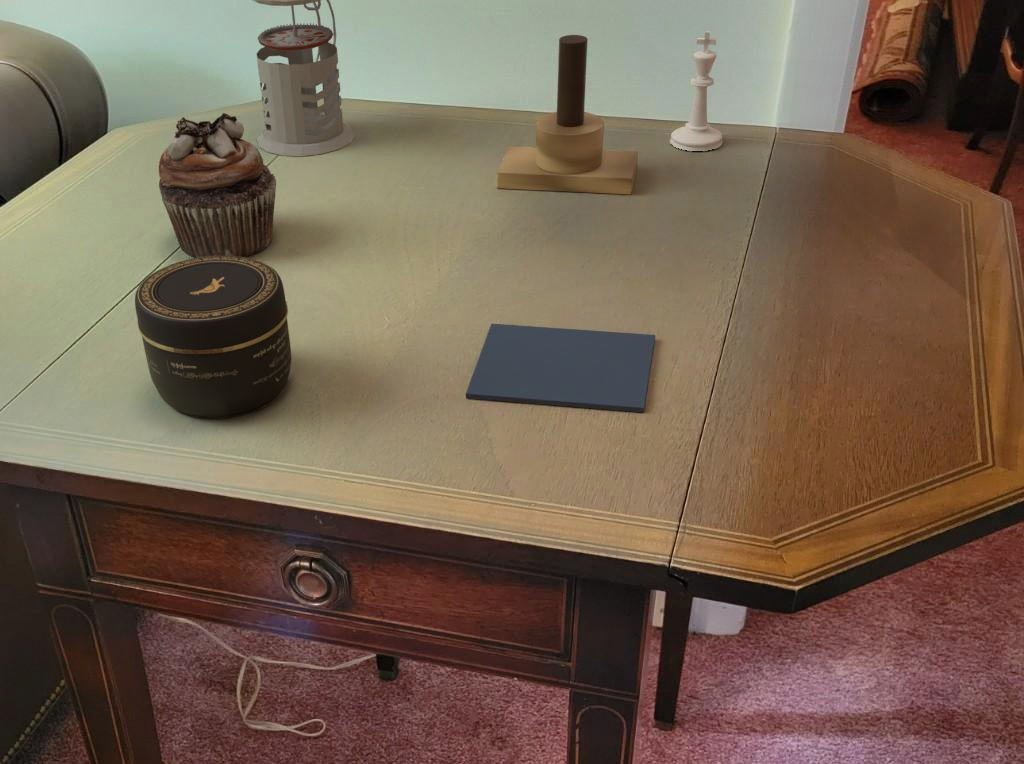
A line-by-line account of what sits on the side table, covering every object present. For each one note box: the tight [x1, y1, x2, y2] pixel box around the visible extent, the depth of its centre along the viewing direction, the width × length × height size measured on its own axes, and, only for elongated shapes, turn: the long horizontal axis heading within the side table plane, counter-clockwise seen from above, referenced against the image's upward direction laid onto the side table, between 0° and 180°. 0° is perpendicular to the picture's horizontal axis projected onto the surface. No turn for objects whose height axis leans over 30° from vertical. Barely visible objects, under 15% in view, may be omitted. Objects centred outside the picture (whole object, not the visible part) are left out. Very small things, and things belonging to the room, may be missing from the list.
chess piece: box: [669, 30, 723, 152], centre depth 113 cm, size 5×5×10 cm
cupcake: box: [158, 112, 277, 258], centre depth 100 cm, size 10×10×10 cm
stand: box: [496, 34, 639, 195], centre depth 107 cm, size 12×6×12 cm, turn 78°
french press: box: [252, 0, 356, 157], centre depth 114 cm, size 10×12×25 cm
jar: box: [134, 256, 292, 419], centre depth 83 cm, size 10×10×8 cm
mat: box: [465, 323, 656, 413], centre depth 85 cm, size 12×10×1 cm
